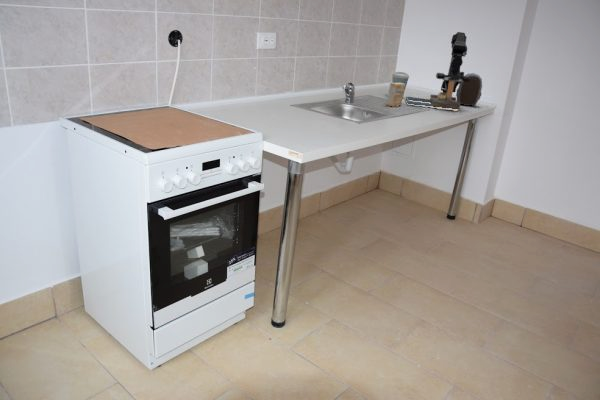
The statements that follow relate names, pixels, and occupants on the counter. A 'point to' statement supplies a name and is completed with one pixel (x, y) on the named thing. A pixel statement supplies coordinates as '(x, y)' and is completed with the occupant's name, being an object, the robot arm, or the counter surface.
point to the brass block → (441, 96)
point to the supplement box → (395, 94)
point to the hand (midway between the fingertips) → (449, 92)
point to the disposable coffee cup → (400, 78)
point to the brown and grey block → (450, 90)
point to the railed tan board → (444, 102)
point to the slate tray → (418, 100)
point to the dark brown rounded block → (470, 90)
